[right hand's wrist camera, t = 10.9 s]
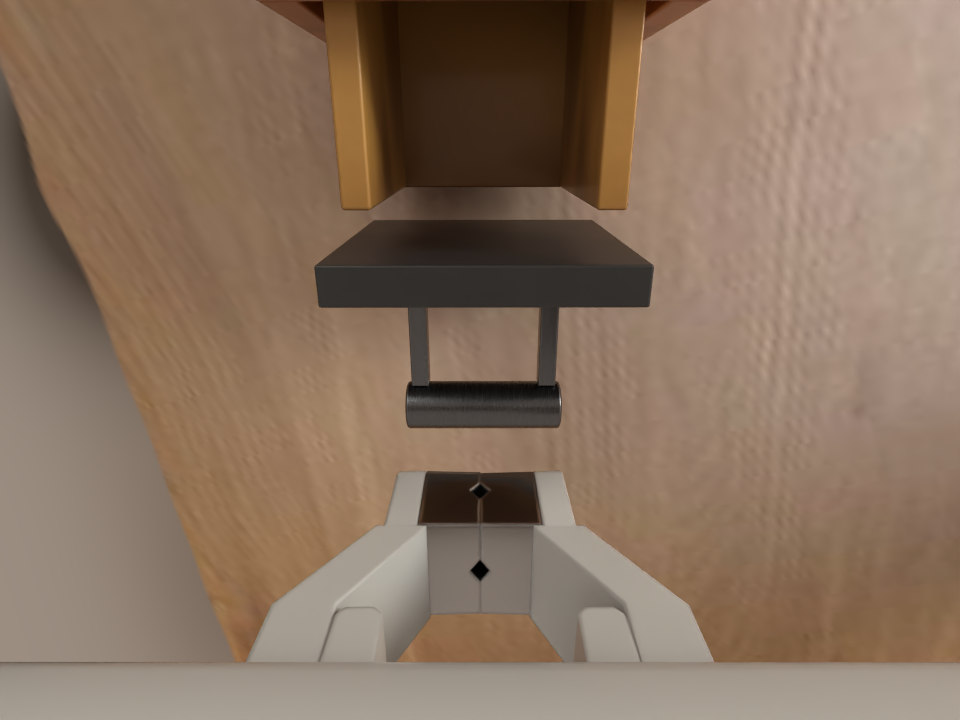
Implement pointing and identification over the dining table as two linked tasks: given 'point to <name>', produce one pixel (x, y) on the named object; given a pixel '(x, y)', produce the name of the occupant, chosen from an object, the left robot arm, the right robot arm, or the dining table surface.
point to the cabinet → (305, 3)
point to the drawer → (484, 173)
